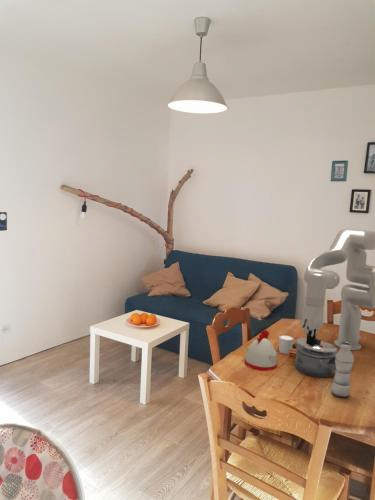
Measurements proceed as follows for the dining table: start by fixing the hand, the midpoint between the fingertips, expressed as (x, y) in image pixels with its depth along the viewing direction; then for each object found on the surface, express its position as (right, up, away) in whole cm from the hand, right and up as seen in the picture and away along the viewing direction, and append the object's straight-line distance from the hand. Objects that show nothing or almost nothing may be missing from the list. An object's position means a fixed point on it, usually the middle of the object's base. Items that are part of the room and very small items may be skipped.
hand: (310, 344), depth 160 cm
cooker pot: (+4, -12, +3) cm, 13 cm away
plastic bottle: (+6, -15, -16) cm, 23 cm away
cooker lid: (+4, -2, +3) cm, 5 cm away
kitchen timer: (-19, -11, +8) cm, 23 cm away
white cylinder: (-5, -9, +23) cm, 25 cm away
